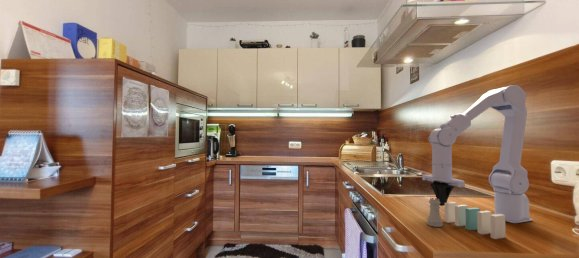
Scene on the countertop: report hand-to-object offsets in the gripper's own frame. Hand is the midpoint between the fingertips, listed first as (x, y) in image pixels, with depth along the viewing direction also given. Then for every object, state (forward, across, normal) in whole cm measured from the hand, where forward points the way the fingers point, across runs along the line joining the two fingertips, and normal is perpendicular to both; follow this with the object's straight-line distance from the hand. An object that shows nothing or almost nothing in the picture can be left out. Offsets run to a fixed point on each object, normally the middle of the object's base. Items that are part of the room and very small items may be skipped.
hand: (442, 205), depth 88 cm
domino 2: (+4, +7, 0) cm, 8 cm away
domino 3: (+4, +10, 0) cm, 11 cm away
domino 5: (+4, +17, 0) cm, 18 cm away
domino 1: (+4, +3, 0) cm, 5 cm away
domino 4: (+4, +14, 0) cm, 14 cm away
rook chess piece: (+5, +4, -8) cm, 10 cm away
